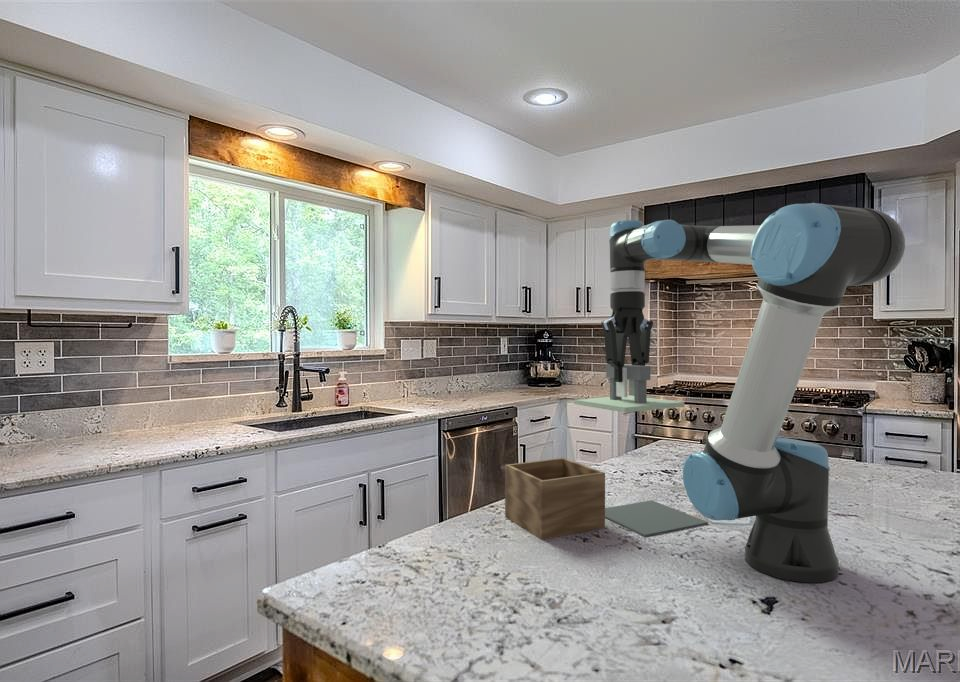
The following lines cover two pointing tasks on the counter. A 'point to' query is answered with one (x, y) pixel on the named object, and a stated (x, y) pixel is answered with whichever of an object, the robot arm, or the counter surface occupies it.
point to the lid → (630, 402)
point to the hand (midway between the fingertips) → (628, 395)
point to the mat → (651, 518)
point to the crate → (555, 497)
